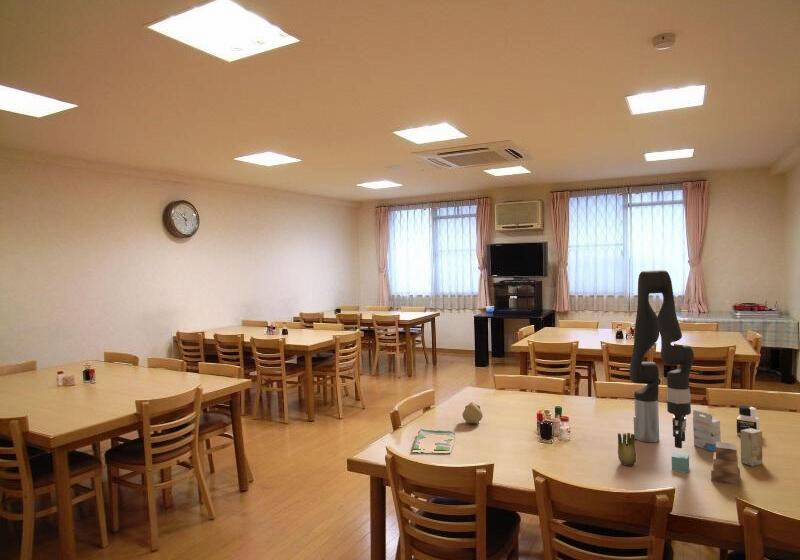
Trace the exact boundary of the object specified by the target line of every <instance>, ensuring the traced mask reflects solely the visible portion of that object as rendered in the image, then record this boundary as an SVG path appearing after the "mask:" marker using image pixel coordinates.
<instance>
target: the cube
mask: <svg viewBox="0 0 800 560" xmlns="http://www.w3.org/2000/svg"><path fill="white" fill-rule="evenodd" d="M689 470H690V454H687V453H679V452H673V453H672V455H671V471H676V472H680V473H686V474H688V473H689Z"/></svg>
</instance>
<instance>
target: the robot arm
mask: <svg viewBox="0 0 800 560" xmlns="http://www.w3.org/2000/svg"><path fill="white" fill-rule="evenodd" d="M651 294H662V299H663V301H662V305H661V307H660V309H659V311H658V314H656V312H655V311H654V309H653V308H652V306H651V304H650V300H649V298H650V295H651ZM636 306H637V309H636V316H635V323H634V324H635V325H634V337H633V338H634V339H633V348H632V354H631V359H630V364H629V372H628V373H629V379H630V381H631V382H632V383H633V384H646V385H645V386H644V387H642V388H641V389H638V390H635V392H634V393H633V399H634V416H633V434H634V435H635V438H634V440H637V441H640V442H643V443H644V442H645V443H657V442H659V441H660V419H659V418H660V417H659V392H660V391H659V390H660V389H659V388H660V387H659V385H660V384H659V383H660V371H659V370H660V369H659V366H658V364H657V363H656V362H654V361H643V360H644V358H645V356H646V354H647V353H648V352H649V351H650V350H651V349H652V348H653V346H654V345H655V344H656V343H657V341H658V340H659V338H660V341H661V342H660V343H661V345H660V346H661V347H660V358H661V360H662V363H664V364H666V365H669V366H673V365H674V366H675V365H676V366H678V365H679V366H678V367H677V368H676V369H674V370H673V369H672V370H670V371H668V372H667V373H666V382H667V385H666V386H667V387H666V407H667V408H666V409H667V413H669V414H672V415H673V418H672V437H674V447H675V448H677V449H682V448H683V442H685V441H686V430H687V429H686V428H687V417H686V416H689V415H691V413H692V409H691V408H692V405H691V403H692V402H691V400H692V399H691V391H690V374H691V372H692V371H691V370H692V366H693V363H694V359H695V354H694V350H693V348H692V347H691V346H689V345H686V344H681V345H680V344H676V345H673V344H672V343H675V342H678V341H680V340H681V339H682V337H683V335H682V330H681V325H680V323H679V320H678V317H677V312H676V303H675V297H674V290H673V284H672V278H671V275H670V274H669V272H668V271H667V270H665V269H657V270H652V269H651V270H643V271H640V272H639V274H638V280H637V305H636ZM659 336H660V337H659Z"/></svg>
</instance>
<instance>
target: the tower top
mask: <svg viewBox="0 0 800 560" xmlns="http://www.w3.org/2000/svg"><path fill="white" fill-rule="evenodd" d="M737 447H738V446H737V444H736V443H729V442H722V441H721V442H716V451H715V452H716V459H722V460H729V461H735V462H737V456H738V449H737Z"/></svg>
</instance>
